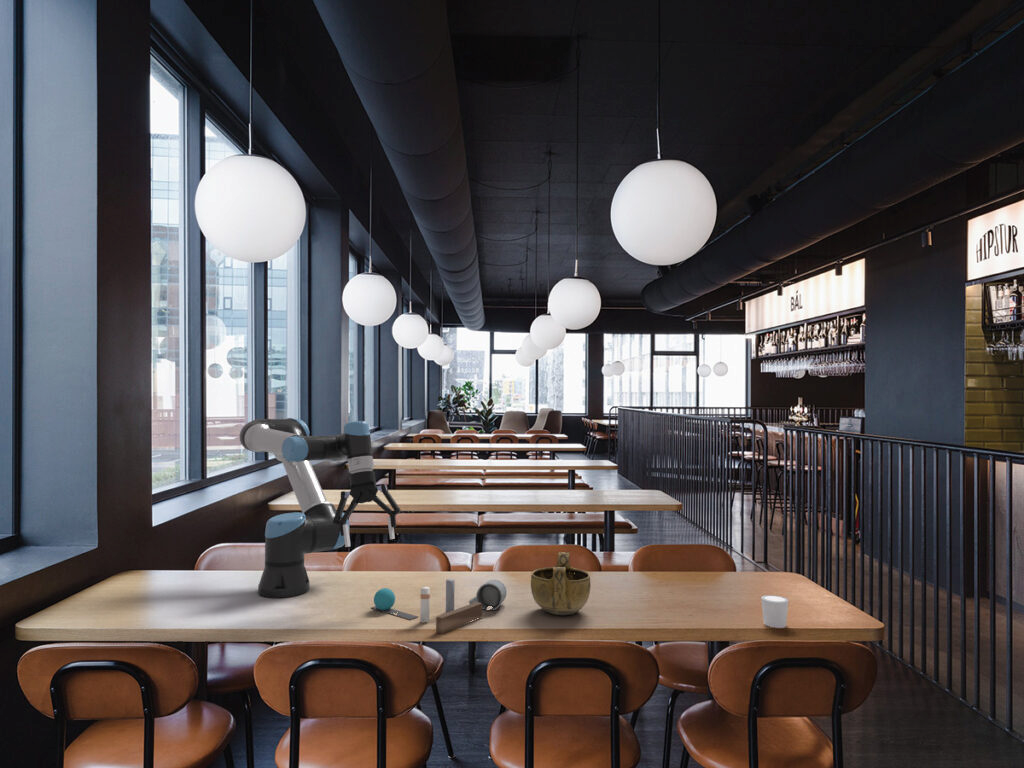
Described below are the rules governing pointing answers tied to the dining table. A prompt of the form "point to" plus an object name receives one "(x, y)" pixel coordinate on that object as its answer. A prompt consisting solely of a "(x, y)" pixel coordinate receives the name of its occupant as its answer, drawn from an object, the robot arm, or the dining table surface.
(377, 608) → the grey flat bar
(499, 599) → the ceramic mug
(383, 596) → the ball
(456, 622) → the backstop
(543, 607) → the ceramic bowl
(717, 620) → the dining table surface
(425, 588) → the white pin
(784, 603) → the white cup
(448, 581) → the grey pin
